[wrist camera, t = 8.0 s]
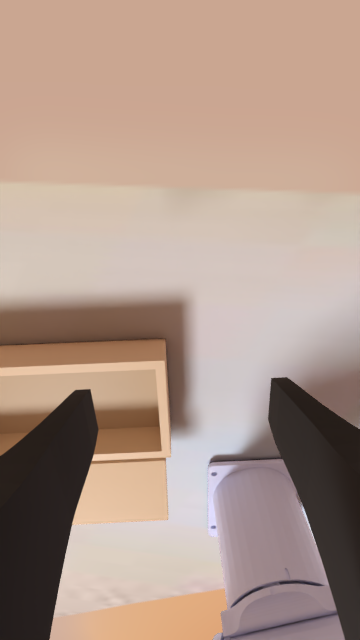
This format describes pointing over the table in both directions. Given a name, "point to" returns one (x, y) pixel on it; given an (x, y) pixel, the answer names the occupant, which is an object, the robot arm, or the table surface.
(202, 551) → the table surface
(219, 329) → the table surface
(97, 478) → the lid flap
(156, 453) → the carton
